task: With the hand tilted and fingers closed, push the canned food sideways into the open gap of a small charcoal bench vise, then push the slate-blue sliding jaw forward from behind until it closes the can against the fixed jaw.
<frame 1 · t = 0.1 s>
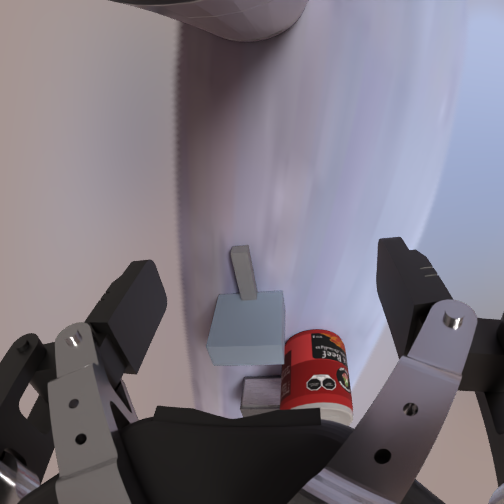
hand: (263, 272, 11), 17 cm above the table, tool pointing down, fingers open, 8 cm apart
sliding jaw: (244, 307, 31), point 4 cm above the table, slide at 0.0 cm
canned food: (313, 346, 39), on the table
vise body: (269, 381, 44), on the table
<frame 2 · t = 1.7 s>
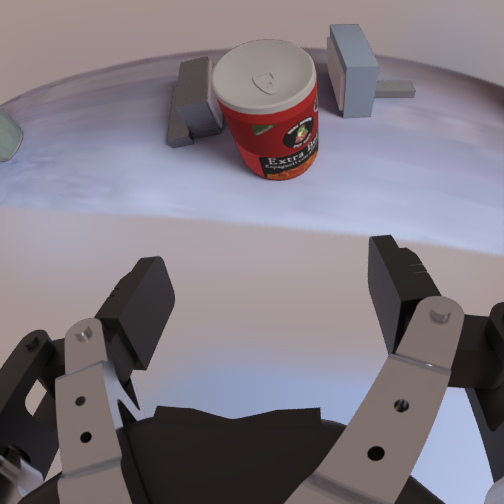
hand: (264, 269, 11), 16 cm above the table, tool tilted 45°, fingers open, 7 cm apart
sliding jaw: (377, 69, 27), point 4 cm above the table, slide at 0.0 cm
canned food: (279, 149, 31), on the table
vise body: (207, 112, 33), on the table
disposable coffee cup: (12, 148, 41), on the table
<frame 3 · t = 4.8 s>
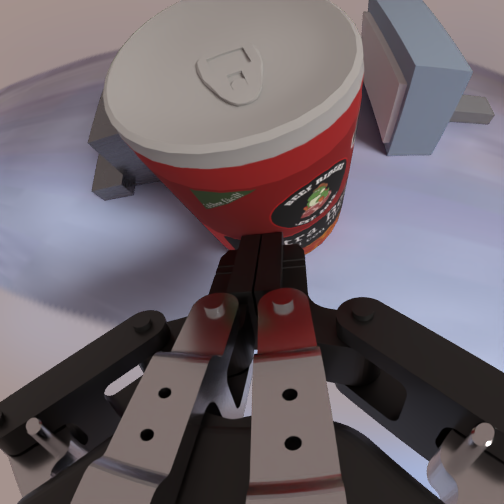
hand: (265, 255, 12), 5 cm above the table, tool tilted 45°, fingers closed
sliding jaw: (447, 75, 14), point 4 cm above the table, slide at 0.0 cm
canned food: (273, 198, 18), on the table, touching gripper
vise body: (159, 137, 20), on the table
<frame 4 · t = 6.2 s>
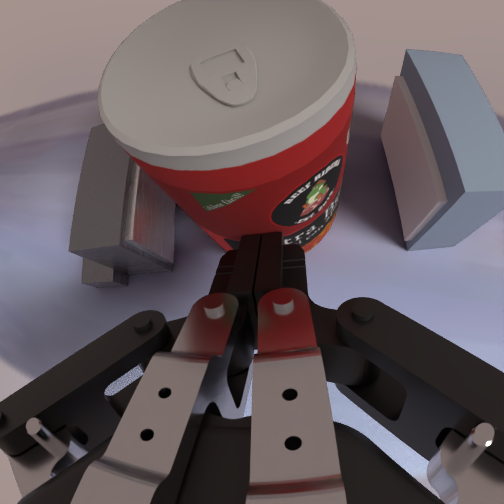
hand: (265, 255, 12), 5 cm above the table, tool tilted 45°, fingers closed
sliding jaw: (483, 157, 12), point 4 cm above the table, slide at 0.0 cm
canned food: (269, 199, 18), on the table, touching gripper
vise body: (151, 216, 19), on the table
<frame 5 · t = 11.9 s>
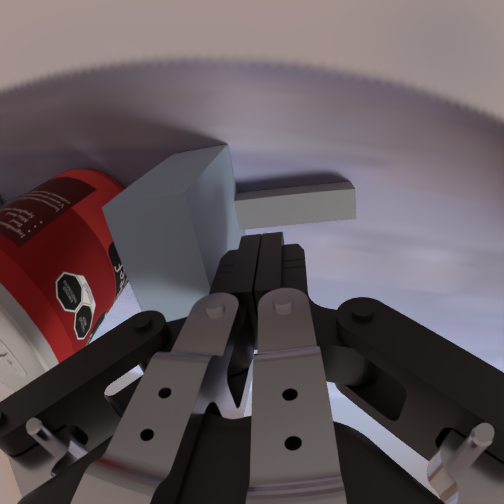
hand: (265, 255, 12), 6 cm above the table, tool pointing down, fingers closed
sliding jaw: (258, 236, 14), point 4 cm above the table, slide at 0.8 cm, touching gripper
canned food: (97, 222, 19), on the table
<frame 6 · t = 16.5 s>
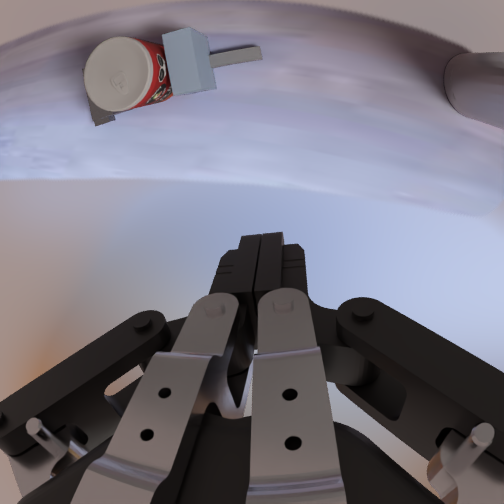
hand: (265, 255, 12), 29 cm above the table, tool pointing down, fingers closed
sliding jaw: (215, 57, 30), point 4 cm above the table, slide at 4.5 cm
canned food: (156, 73, 34), on the table
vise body: (118, 88, 35), on the table
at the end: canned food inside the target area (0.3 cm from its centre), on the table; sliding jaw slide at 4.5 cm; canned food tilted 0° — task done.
